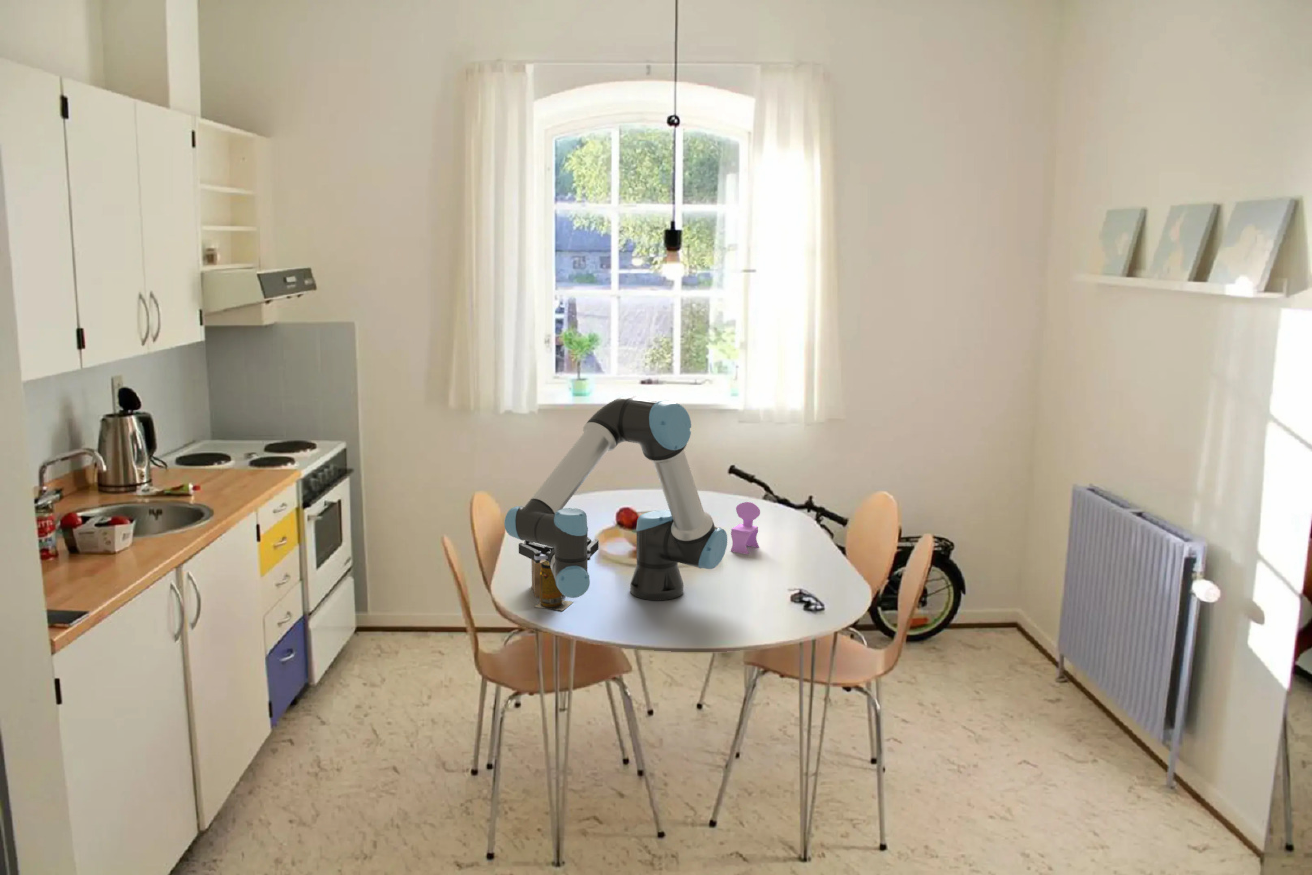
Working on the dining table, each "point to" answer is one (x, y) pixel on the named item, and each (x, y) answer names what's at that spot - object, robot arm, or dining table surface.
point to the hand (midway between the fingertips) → (555, 537)
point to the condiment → (550, 590)
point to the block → (536, 577)
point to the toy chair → (745, 528)
